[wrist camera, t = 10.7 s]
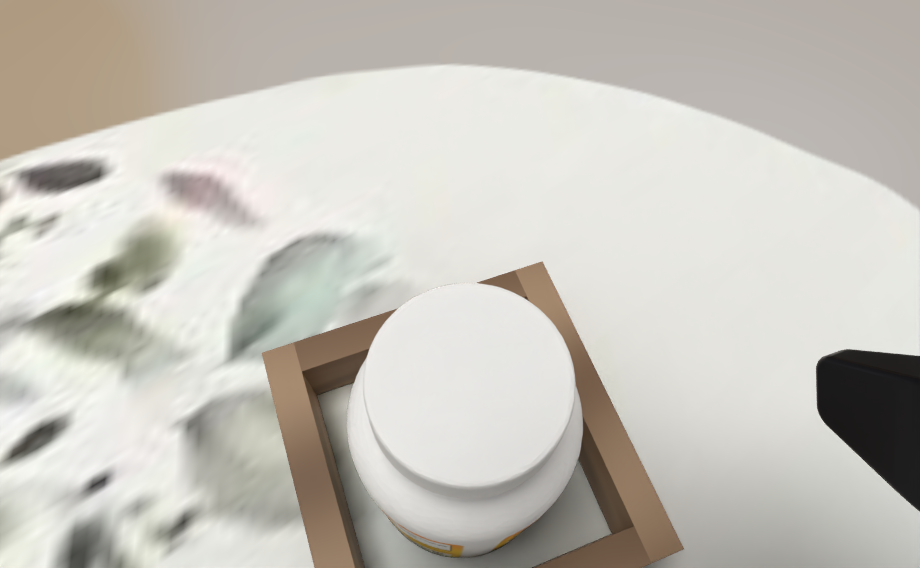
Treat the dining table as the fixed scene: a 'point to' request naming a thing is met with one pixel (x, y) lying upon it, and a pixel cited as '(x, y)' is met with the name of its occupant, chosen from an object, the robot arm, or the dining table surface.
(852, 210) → the dining table surface
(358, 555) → the walnut collar
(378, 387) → the supplement bottle
